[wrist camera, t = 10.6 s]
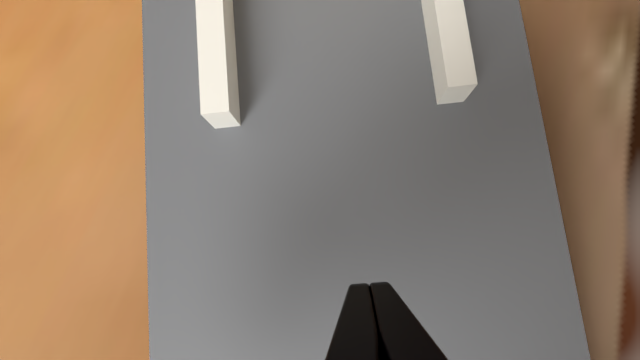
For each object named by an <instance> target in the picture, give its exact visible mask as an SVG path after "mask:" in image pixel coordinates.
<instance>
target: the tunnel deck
mask: <svg viewBox="0 0 640 360" xmlns="http://www.w3.org/2000/svg"><path fill="white" fill-rule="evenodd" d="M142 23H143V71H144V118H145V165H146V212H147V259H148V306H149V353H150V360H325V358H326V355H327V352H328V349H329V346H330V343H331V340H332V336H333V333H334V330H335V327H336V324H337V321H338V318H339V315H340V312H341V309H342V306H343V303H344V300H345V296H346V293H347V290H348V287H349V286H350V285H351V284H359V283H367V284H368V285H370V284H371V283H373V282H388V283H390V284H391V285H392V287H393V288H394V289H395V291H396V292H397V293H398V295H399V296H400V297H401V298H402V300H403V301H404V302H405V304H406V305H407V306H408V308H409V309H410V310H411V312H412V313H413V314H414V315H415V317H416V318H417V319H418V321H419V322H420V323H421V325H422V326H423V327H424V329H425V330H426V331H427V332H428V334H429V335H430V336H431V338H432V339H433V340H434V342H435V343H436V344H437V345H438V347H439V348H440V349H441V351H442V352H443V353H444V355H445V356H446V357H447V359H448V360H591V359H590V354H589V349H588V344H587V339H586V334H585V329H584V324H583V319H582V314H581V309H580V304H579V299H578V294H577V289H576V284H575V279H574V274H573V269H572V264H571V259H570V254H569V249H568V244H567V239H566V234H565V229H564V224H563V219H562V214H561V209H560V204H559V199H558V194H557V189H556V184H555V179H554V174H553V169H552V164H551V159H550V154H549V149H548V144H547V139H546V134H545V129H544V123H543V118H542V113H541V108H540V103H539V98H538V93H537V88H536V83H535V78H534V73H533V68H532V63H531V58H530V53H529V48H528V43H527V38H526V33H525V28H524V23H523V18H522V13H521V8H520V3H519V0H142Z"/></svg>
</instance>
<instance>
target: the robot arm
mask: <svg viewBox="0 0 640 360" xmlns="http://www.w3.org/2000/svg"><path fill="white" fill-rule="evenodd" d="M325 360H448V359H447V357H446V356H445V355H444V353H443V352H442V351H441V349H440V348H439V347H438V345H437V344H436V343H435V342H434V340H433V339H432V338H431V336H430V335H429V334H428V332H427V331H426V330H425V329H424V327H423V326H422V325H421V323H420V322H419V321H418V319H417V318H416V317H415V315H414V314H413V313H412V312H411V310H410V309H409V308H408V306H407V305H406V304H405V302H404V301H403V300H402V298H401V297H400V296H399V295H398V293H397V292H396V291H395V289H394V288H393V287H392V285H391V284H390V283H388V282H373V283H371V284H370V285H368V284H367V283H359V284H351V285H350V286H349V287H348V290H347V293H346V296H345V300H344V303H343V306H342V309H341V312H340V315H339V318H338V321H337V324H336V327H335V330H334V333H333V336H332V340H331V343H330V346H329V349H328V352H327V355H326V358H325Z"/></svg>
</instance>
